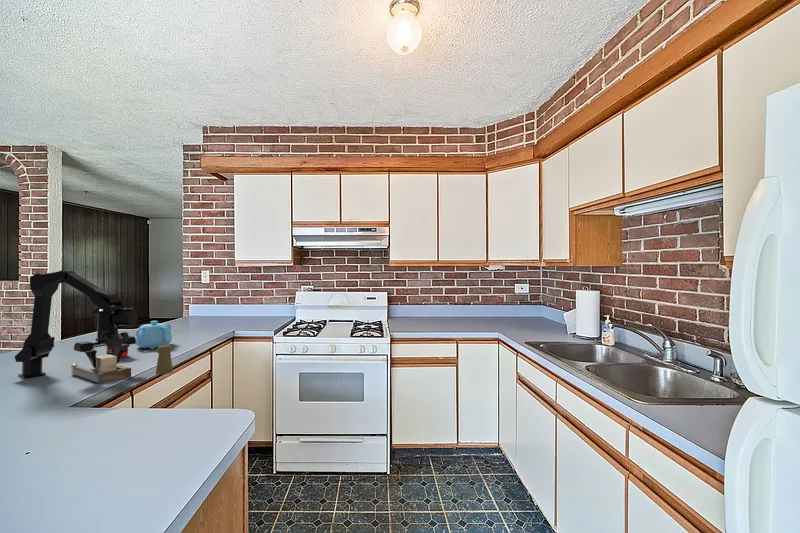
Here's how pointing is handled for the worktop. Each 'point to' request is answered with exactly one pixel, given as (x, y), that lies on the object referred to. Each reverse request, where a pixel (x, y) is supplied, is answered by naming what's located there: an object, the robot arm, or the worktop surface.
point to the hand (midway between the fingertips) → (106, 365)
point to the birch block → (105, 363)
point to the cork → (164, 360)
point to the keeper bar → (85, 373)
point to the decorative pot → (153, 335)
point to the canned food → (112, 351)
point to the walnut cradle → (115, 373)
